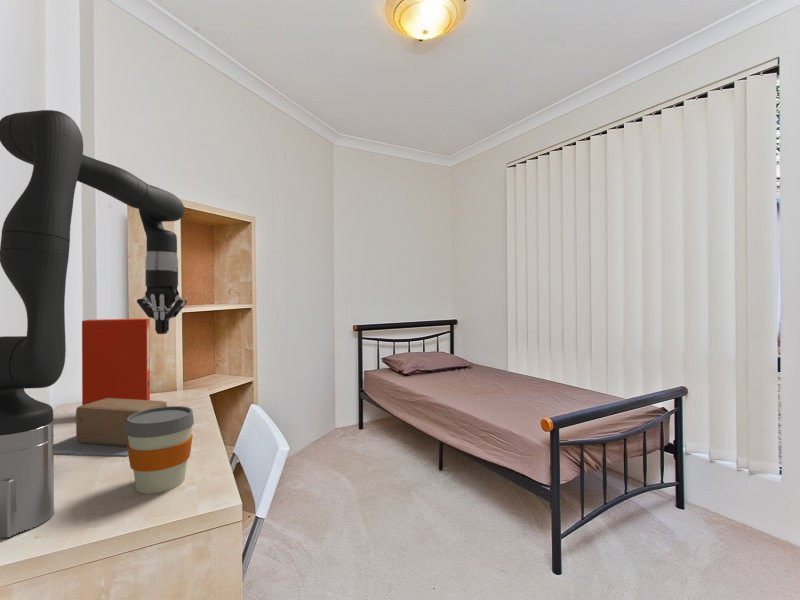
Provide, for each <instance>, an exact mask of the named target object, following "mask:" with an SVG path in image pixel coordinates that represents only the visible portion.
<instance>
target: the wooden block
mask: <svg viewBox="0 0 800 600" xmlns="http://www.w3.org/2000/svg"><path fill="white" fill-rule="evenodd" d="M167 405H168V403H167V402H166V401H164V400H152V399H151V400H135V399H117V398H106V399H102V400H99V401H95V402H92V403H89V404H85V405H80V406H77V407H76V409H75V436H76V440H77V442H80V443H92V444H105V445H118V446H127V445H128V444H129V440H128V435H127V434H126V424H127V418H128V417H129V416H131V415H132V414H135V413H137V412H140V411H144V410H148V409H153V408H159V407H168V406H167Z"/></svg>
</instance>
